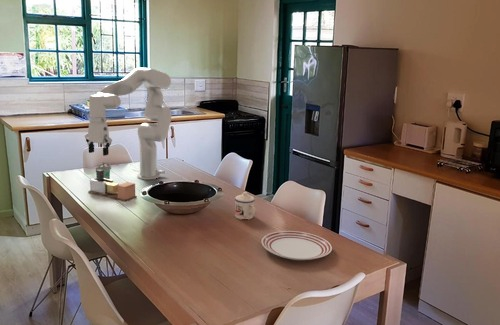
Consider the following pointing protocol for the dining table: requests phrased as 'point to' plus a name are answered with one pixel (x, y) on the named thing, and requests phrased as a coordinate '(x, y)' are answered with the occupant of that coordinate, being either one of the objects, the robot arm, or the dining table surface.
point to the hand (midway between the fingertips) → (98, 153)
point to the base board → (112, 196)
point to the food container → (105, 169)
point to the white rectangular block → (98, 185)
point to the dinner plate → (296, 245)
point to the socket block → (126, 190)
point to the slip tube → (107, 182)
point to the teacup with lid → (244, 206)
